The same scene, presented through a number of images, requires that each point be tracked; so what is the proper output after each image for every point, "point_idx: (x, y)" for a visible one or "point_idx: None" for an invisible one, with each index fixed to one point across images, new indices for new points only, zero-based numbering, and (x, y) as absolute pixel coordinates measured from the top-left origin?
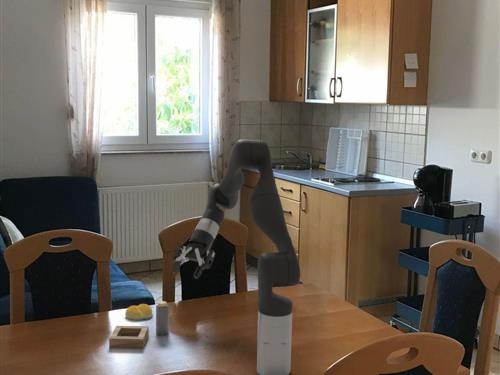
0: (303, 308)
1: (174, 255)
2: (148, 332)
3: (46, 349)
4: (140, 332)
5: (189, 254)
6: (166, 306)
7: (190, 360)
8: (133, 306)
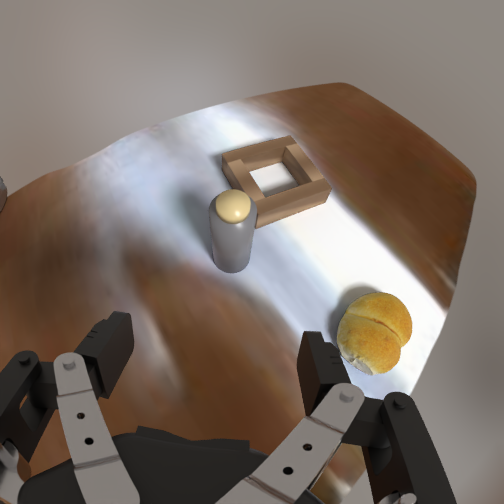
0: None
1: (407, 417)
2: (255, 222)
3: (366, 124)
4: (251, 177)
5: (232, 468)
6: (216, 211)
7: (107, 171)
8: (397, 313)
